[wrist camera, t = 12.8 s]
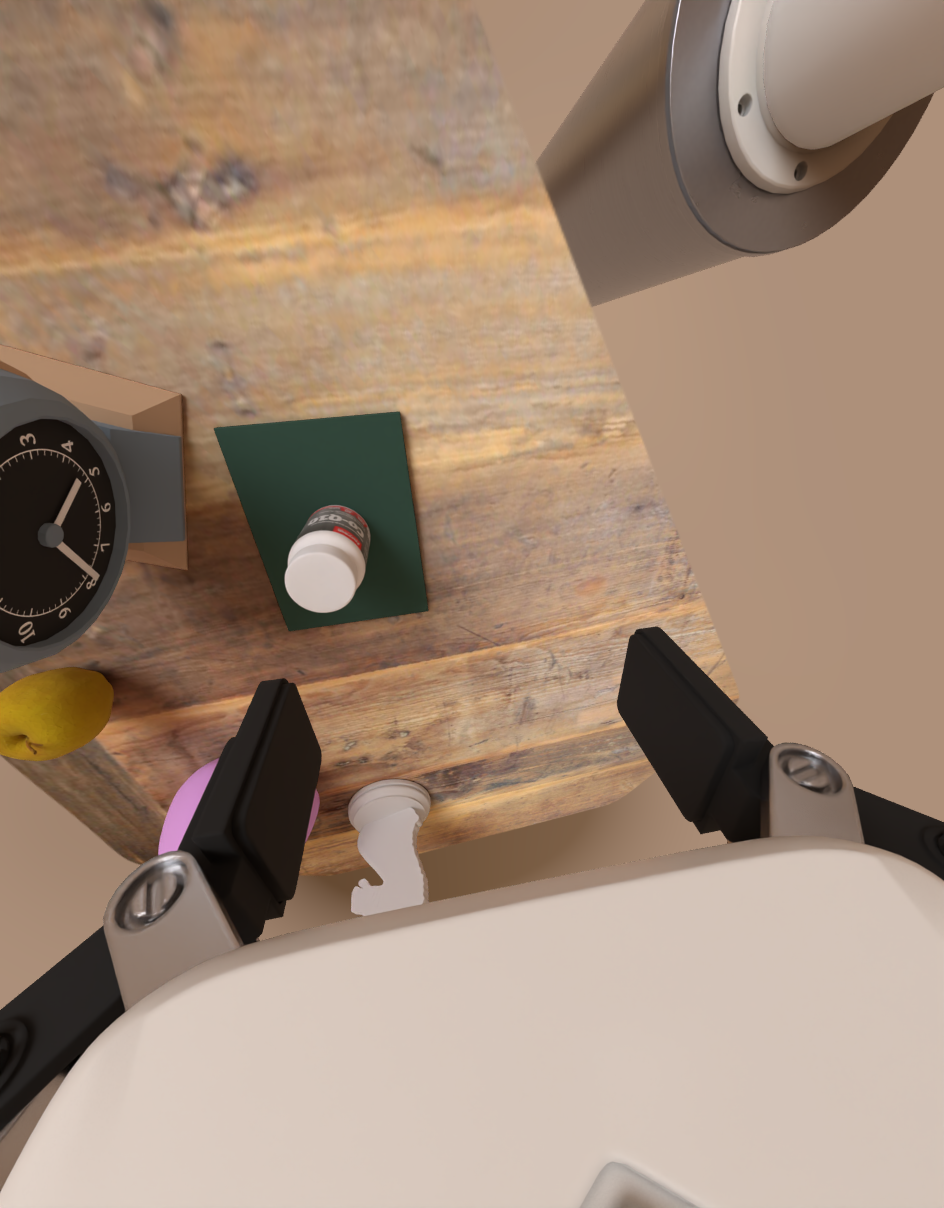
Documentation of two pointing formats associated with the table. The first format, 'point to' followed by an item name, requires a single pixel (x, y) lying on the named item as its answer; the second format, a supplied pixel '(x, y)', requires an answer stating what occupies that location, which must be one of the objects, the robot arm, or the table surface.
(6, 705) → the apple
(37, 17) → the table surface
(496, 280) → the table surface
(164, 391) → the alarm clock
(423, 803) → the chess piece
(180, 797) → the teapot
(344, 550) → the pill bottle
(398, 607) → the mat
